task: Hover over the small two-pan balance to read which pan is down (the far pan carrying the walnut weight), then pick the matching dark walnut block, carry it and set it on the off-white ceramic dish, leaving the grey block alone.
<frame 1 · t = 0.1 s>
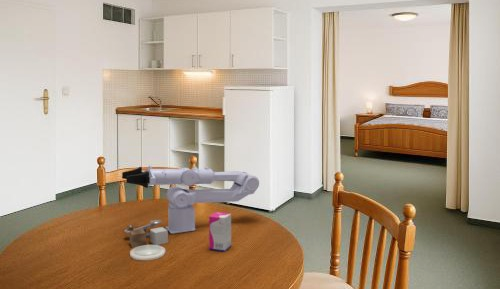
hand: (124, 177, 158), 22 cm above the table, tool horizontal, fingers open, 7 cm apart
walnut block: (137, 244, 154), on the table
supplement box: (220, 248, 151), on the table
grey block: (159, 242, 156), on the table
dish: (147, 253, 145), on the table
balance: (143, 236, 161), on the table
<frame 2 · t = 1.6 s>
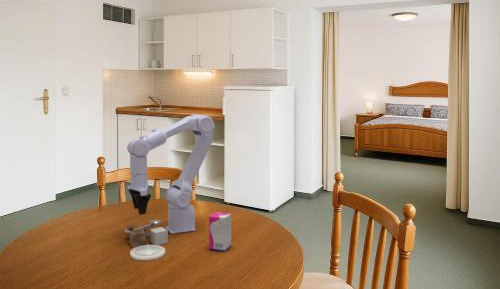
hand: (139, 211, 160), 9 cm above the table, tool pointing down, fingers open, 7 cm apart
nothing on the table moved.
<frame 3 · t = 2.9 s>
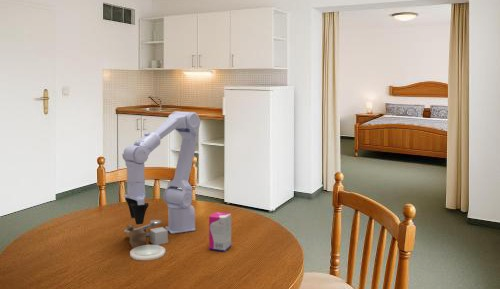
hand: (137, 220, 152), 8 cm above the table, tool pointing down, fingers open, 7 cm apart
nothing on the table moved.
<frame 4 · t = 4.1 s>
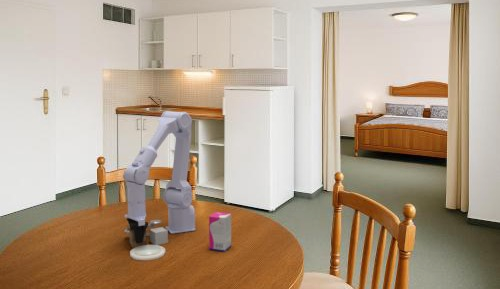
hand: (137, 240, 153), 1 cm above the table, tool pointing down, fingers closed on walnut block, 4 cm apart
walnut block: (137, 244, 153), on the table, touching gripper
everything else where it was.
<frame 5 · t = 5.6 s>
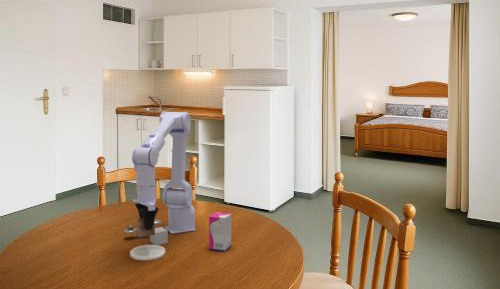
hand: (147, 227, 144), 9 cm above the table, tool pointing down, fingers closed on walnut block, 4 cm apart
walnut block: (146, 233, 144), point 7 cm above the table, touching gripper
everything else where it was.
when the fingers open (4 cm above the table, at t = 7.0 s): walnut block stays where it is, resting on dish.
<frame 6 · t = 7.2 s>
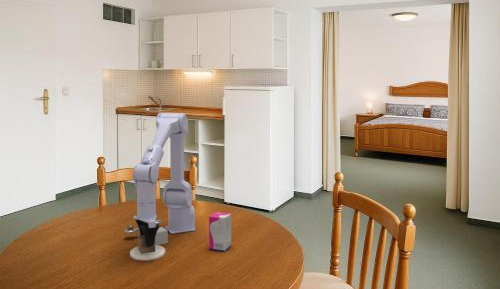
hand: (147, 243, 145), 4 cm above the table, tool pointing down, fingers open, 6 cm apart
walnut block: (146, 250, 145), point 1 cm above the table, touching dish
everything else where it was.
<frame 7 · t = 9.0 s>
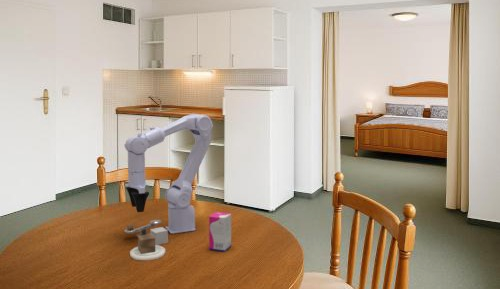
hand: (137, 209, 159), 10 cm above the table, tool pointing down, fingers open, 7 cm apart
nothing on the table moved.
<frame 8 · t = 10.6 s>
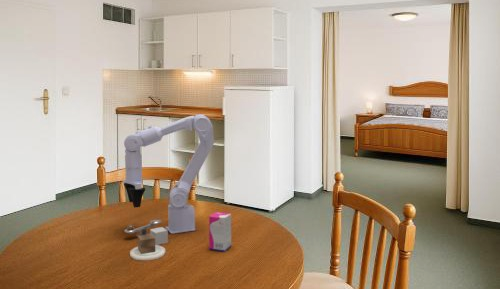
hand: (134, 204, 164), 10 cm above the table, tool pointing down, fingers open, 7 cm apart
nothing on the table moved.
at the end: walnut block inside the target area on the dish (0.3 cm from its centre), point 1.2 cm above the dish's base; walnut block tilted 0°; grey block moved 0.1 cm from its start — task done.
